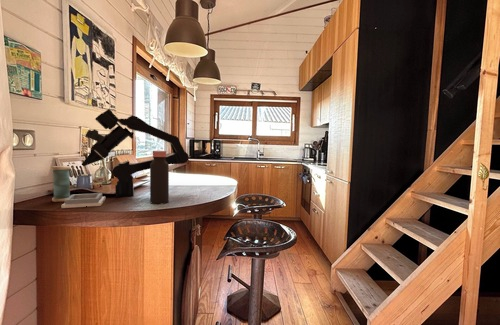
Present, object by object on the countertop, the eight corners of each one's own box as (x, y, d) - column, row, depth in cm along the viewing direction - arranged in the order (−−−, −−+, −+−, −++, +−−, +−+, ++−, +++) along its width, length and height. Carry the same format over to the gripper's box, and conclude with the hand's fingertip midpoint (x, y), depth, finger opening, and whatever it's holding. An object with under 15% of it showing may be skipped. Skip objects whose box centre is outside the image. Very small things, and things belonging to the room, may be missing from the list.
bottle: (149, 204, 96) (149, 151, 94) (151, 200, 102) (150, 150, 101) (168, 203, 97) (168, 151, 96) (168, 199, 104) (169, 150, 102)
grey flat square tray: (105, 198, 103) (105, 192, 103) (100, 205, 92) (100, 198, 92) (70, 200, 98) (70, 194, 98) (61, 208, 88) (61, 200, 88)
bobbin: (73, 197, 103) (72, 165, 102) (69, 201, 98) (68, 167, 97) (55, 198, 101) (54, 166, 100) (50, 202, 95) (48, 167, 94)
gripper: (99, 124, 111) (68, 148, 107) (98, 121, 95) (62, 150, 91) (119, 143, 116) (90, 167, 111) (122, 144, 100) (88, 172, 95)
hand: (83, 164), depth 102 cm, fingers open, 9 cm apart
